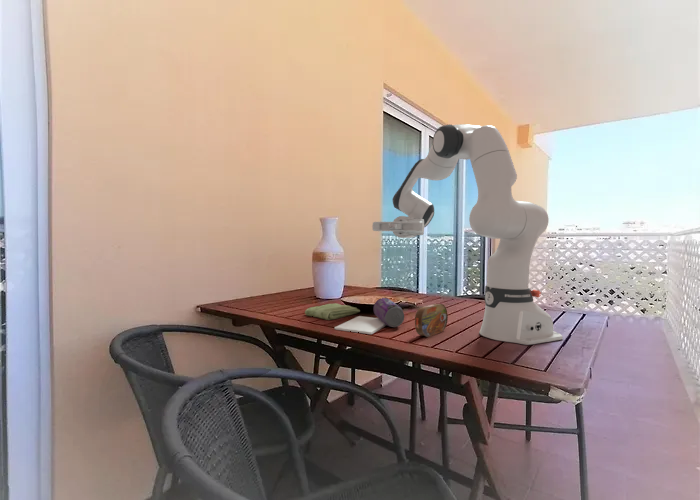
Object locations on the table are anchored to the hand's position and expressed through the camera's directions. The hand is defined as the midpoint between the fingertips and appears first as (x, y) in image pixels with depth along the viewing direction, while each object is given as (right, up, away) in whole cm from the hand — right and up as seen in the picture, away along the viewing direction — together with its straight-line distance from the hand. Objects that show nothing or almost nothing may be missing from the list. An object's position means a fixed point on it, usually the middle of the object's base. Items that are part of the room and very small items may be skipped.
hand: (391, 226), depth 140 cm
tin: (+8, -34, -30) cm, 46 cm away
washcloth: (-22, -33, -5) cm, 40 cm away
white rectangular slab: (-11, -33, -21) cm, 41 cm away
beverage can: (-5, -28, -13) cm, 32 cm away
